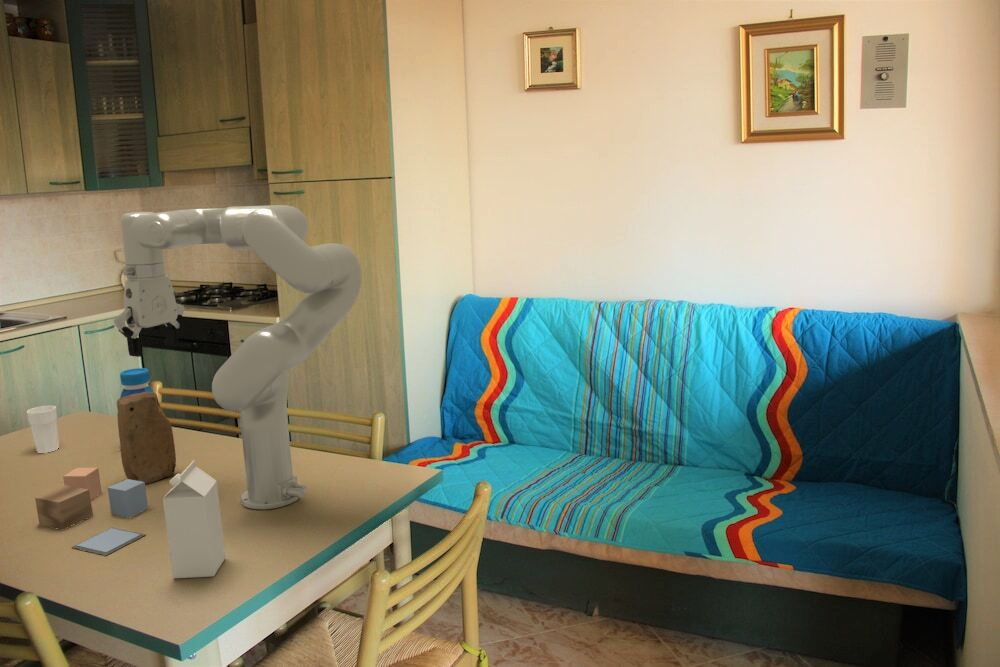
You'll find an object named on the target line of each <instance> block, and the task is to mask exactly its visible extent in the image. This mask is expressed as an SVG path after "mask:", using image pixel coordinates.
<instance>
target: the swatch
mask: <svg viewBox="0 0 1000 667" xmlns="http://www.w3.org/2000/svg"><path fill="white" fill-rule="evenodd" d="M104 531H105V532H104ZM104 531H101V532H100V534H99V533H98V534H96V535H94V536H92V537H89V538H90V539H89V538H88V539H86V540H83V541H81V542H79V543H77V544H75V545H73V546H71V549H73V548H77V549H76V550H78V549H81V550H80V551H82V550H85V551H84V552H86V551H90V552H93V553H92V554H95V553H97V554H96V555H99V554H101V555H100V556H103V555H107V556H109V555H111V554H113V553H115V552H117V551H119V550H120V548H121V547H123V548H125V547H126V546H128V545H130V544H132V543H133V541H134V542H136V541H137V539H138V540H139V538H140V539H141V537H142V538H144V537H145V536H144V535H146V533H145V534H144V533H140V532H136V531H131V530H126V529H122V528H117V527H110V528H107V529H106V530H104ZM143 536H144V537H143ZM135 540H136V541H135ZM131 542H132V543H131ZM129 543H130V544H129ZM125 545H126V546H125ZM124 546H125V547H124ZM118 549H119V550H118ZM121 549H122V548H121ZM116 550H117V551H116ZM114 551H115V552H114ZM90 552H89V553H90ZM112 552H113V553H112ZM110 553H111V554H110ZM108 554H109V555H108Z"/></svg>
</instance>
